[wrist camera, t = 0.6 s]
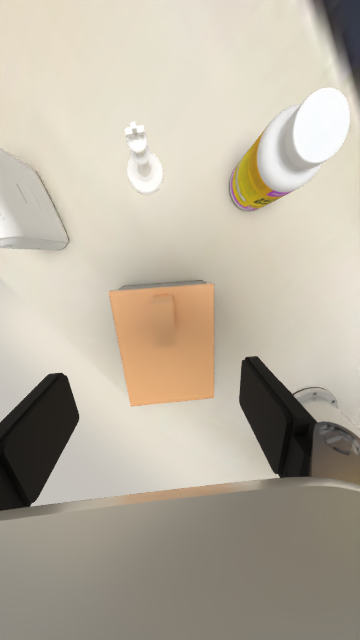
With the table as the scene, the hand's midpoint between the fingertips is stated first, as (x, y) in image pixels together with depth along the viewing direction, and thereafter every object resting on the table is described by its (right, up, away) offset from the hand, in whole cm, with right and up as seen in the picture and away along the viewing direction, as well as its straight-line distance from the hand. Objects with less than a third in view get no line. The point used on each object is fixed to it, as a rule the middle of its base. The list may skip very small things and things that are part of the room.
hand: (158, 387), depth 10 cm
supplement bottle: (+11, +23, +17) cm, 31 cm away
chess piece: (-4, +24, +16) cm, 29 cm away
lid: (-1, -1, +18) cm, 18 cm away
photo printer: (-18, +19, +16) cm, 31 cm away
